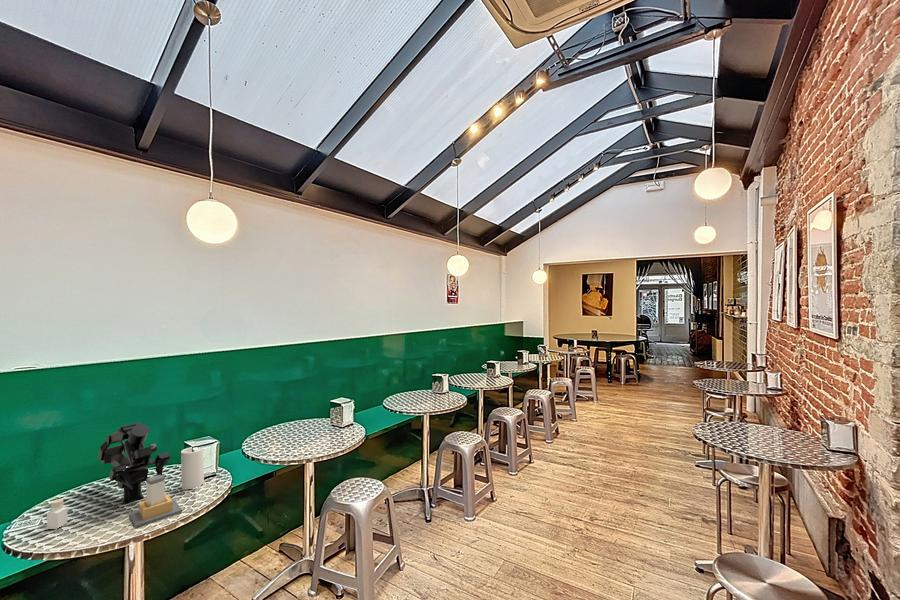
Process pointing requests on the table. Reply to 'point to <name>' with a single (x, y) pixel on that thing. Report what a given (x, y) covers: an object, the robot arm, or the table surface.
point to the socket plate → (154, 512)
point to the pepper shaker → (56, 515)
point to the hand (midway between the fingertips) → (147, 484)
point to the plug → (155, 490)
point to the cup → (192, 468)
